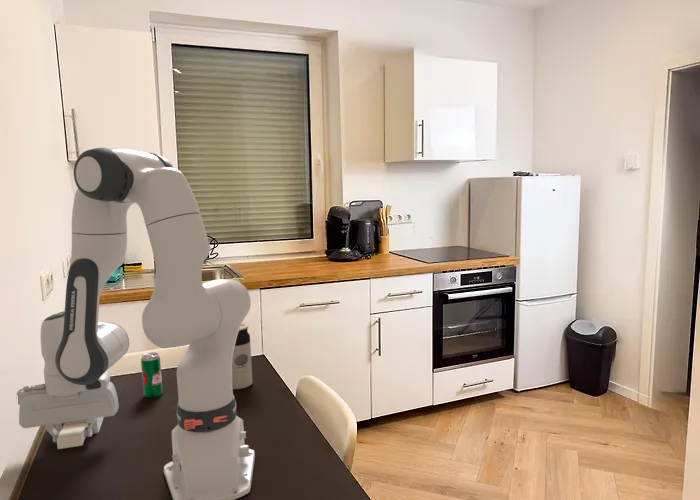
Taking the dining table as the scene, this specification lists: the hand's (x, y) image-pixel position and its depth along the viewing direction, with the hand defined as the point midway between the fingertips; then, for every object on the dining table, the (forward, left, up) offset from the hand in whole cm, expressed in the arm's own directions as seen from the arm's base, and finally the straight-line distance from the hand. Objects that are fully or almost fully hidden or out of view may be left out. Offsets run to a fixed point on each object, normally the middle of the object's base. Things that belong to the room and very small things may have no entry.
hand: (73, 438), depth 121 cm
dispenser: (+10, 0, -2) cm, 11 cm away
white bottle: (+23, -40, -2) cm, 46 cm away
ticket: (+4, 0, 0) cm, 5 cm away
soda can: (+24, -16, -2) cm, 29 cm away
